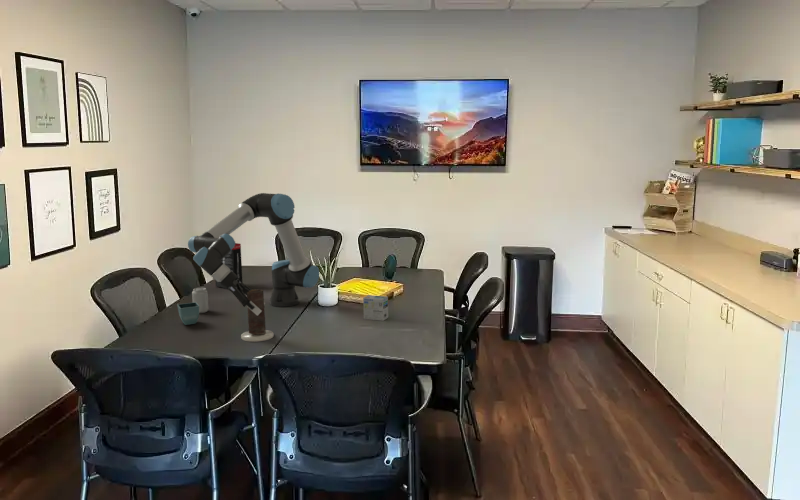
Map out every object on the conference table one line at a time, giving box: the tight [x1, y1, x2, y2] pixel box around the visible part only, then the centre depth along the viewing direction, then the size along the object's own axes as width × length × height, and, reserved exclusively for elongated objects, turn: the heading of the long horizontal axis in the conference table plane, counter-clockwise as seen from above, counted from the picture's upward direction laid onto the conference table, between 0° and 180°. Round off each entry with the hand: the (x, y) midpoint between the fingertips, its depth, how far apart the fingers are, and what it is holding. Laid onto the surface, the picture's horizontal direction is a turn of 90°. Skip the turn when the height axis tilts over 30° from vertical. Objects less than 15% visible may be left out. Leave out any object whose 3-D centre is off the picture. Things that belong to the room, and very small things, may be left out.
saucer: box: [240, 329, 275, 343], centre depth 288 cm, size 14×14×1 cm
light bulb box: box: [362, 294, 389, 322], centre depth 316 cm, size 11×7×11 cm, turn 71°
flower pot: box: [176, 301, 200, 326], centre depth 309 cm, size 9×9×9 cm
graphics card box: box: [215, 242, 244, 290], centre depth 383 cm, size 17×7×27 cm, turn 58°
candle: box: [246, 288, 267, 335], centre depth 286 cm, size 8×7×20 cm
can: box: [191, 287, 209, 314], centre depth 331 cm, size 8×8×12 cm
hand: (261, 309), depth 286 cm, fingers open, 13 cm apart
